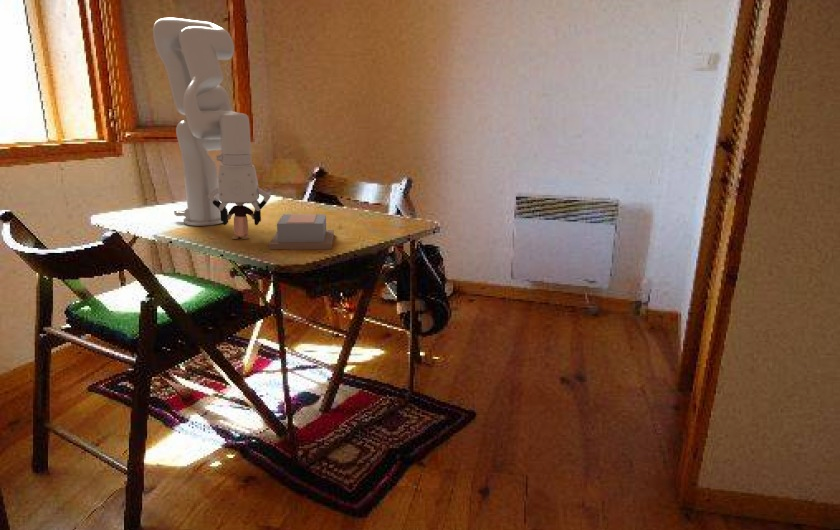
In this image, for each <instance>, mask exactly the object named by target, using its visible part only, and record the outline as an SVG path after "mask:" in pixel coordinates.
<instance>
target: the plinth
mask: <svg viewBox="0 0 840 530" xmlns="http://www.w3.org/2000/svg"><path fill="white" fill-rule="evenodd" d="M276 230H277V231H276V232H275V234H274V235H273V237H272V239H271V240H270V242H269V243H268V250H269V251H272V250H271V249H289V250H332V246H333V241H334V236H335V231H334V229H327V214H323V213H322V214H320V213H319V214H317V213H308V214H307V213H292V214H282V215H281V217H280V218H279V220H278V221H277V223H276Z"/></svg>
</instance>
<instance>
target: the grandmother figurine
mask: <svg viewBox="0 0 840 530" xmlns="http://www.w3.org/2000/svg"><path fill="white" fill-rule="evenodd" d="M234 204H235V205H234V206H232V207H231V208H230V209H229V211H228V217H227V219H228V221H230V220H231V218H232V216H233V215H234V217H233V235H232V236H231V239H232V240H233V239H234V240H236V239H240V238H241V239H242V240H248V239H249V236H248V235H249V223H248V217H247V215H248V216H250V217H251V220H254V211H253V209H251V208H250V207H248V206H246V205H245V203H234Z"/></svg>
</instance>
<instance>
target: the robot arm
mask: <svg viewBox="0 0 840 530" xmlns="http://www.w3.org/2000/svg"><path fill="white" fill-rule="evenodd" d="M152 29H153V30H152V35H153V41H154V46H155V50H156V52H157V55H158V56H159V58H160V60H161V62H162V64H163V66H164V68H165V71H166V73H167V74H166V75H167V77H168V81H169V82H168V83H169V86H170V90H171V94H172V98H173V103H174V105H175V108H176V109H175V110H176V111H177V112H178V113H179V114H180V115H183V116H185V118H186V119H183V120H181V121H179V122H178V124H177V125H176V128H175V133H176V139H177V142H178V145H179V150H180V154H181V159H182V161H181V162H182V167H183V168H182V169H183V175H184V176H183V177H184V185H185V195H186V197H185V198H186V205H187V207H185V208H184V209H181V208H179V209H178V208H177V209H174V211H173V212H174V215H175V216H176V217H184V218H183V224H185V225H187V226H194V227H195V226H196V227H197V226H198V227H199V226H200V227H202V226H203V227H204V226H205V227H207V226H215V225H220V224H222V225H223V226H227V225H228V224H229V220H228V219H227V217H228V213H229V211H228V209H227V208H226V207H227V205H228V204H235V203H244V204H251V205H252V207H253V208H254V211H253V213H254V219H253V220H254V225H255V226H258V225H259V224H260V222H262V215H261V214H262V213H261V209H262V208H263V207H265V206H266V204H267V203H268V202H269V200H270V198H272V195H271V194H269V193H268V192H266V191H265V190H264V189H262V188H261V187H259V182H258V176H257V171H256V166H255V165H254V164H253V162H252V161H253V159H252V146H251V143H252V142H251V127H250V118H249V115H247V113H242V112H237V111H233V108H232V104H231V101H230V96H229V94H228V92H227V90H226V89H225V88H224V87H223V86H222V85H220V84H222V83H223V81H224V74H223V71H222V67H221V64H220V62H219V61H229V60H231V59H232V58H233V56H234V54H235V45H234V41H233V38H232V36H231V34H230V32H228V31H227V30H226V29H224V28H223V27H221V26H219V25H217V24H215V23H214V22H213V23H212V22H210V21H203V20H194V19H186V18H178V17H163V18H159V19H158V20H156V21H155V23H154V24H153V28H152ZM210 151H221V153H220V155H216V161H217V162H218V161H219V162H221V165H219V166H218V167H219V169H218V168H217V164H216V162H215V161H214V159H213V157H212V156H210V154H209V153H208V152H210ZM260 196H262V197H263V199H262V200H261V202H260V201H259V198H260Z"/></svg>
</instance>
